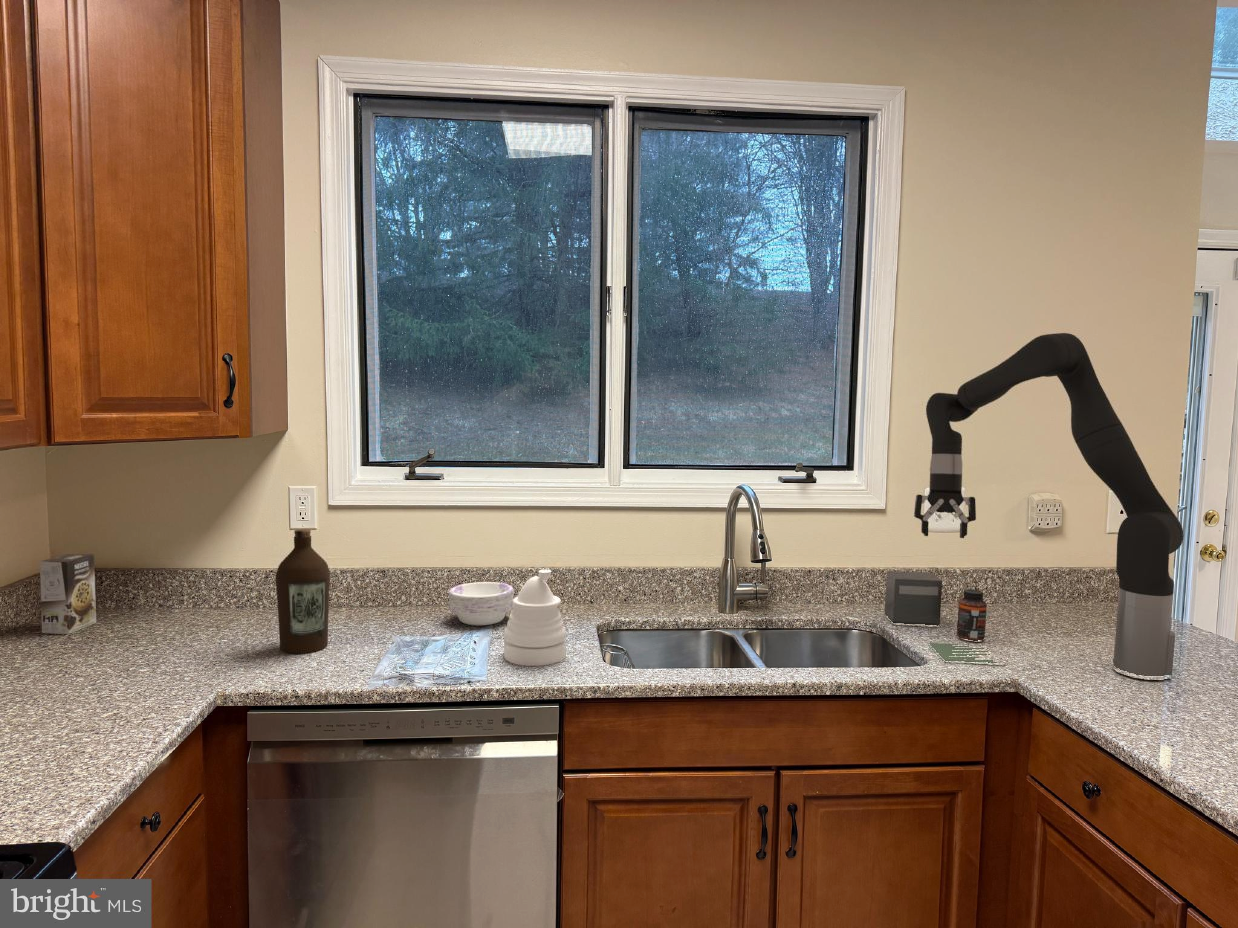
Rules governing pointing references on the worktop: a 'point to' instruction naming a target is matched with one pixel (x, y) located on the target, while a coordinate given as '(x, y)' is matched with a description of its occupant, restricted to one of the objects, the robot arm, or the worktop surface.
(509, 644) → the honey pot
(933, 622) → the charcoal unit
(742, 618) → the worktop surface
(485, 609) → the white and purple bowl
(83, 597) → the coffee box
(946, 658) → the sage mat
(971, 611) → the supplement bottle
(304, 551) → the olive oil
